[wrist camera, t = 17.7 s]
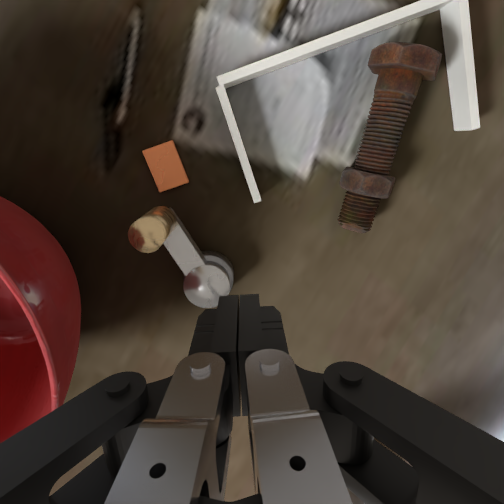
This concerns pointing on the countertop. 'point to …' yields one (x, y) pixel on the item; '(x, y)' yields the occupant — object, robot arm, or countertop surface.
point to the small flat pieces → (172, 175)
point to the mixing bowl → (34, 320)
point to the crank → (181, 255)
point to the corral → (453, 27)
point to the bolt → (384, 127)
